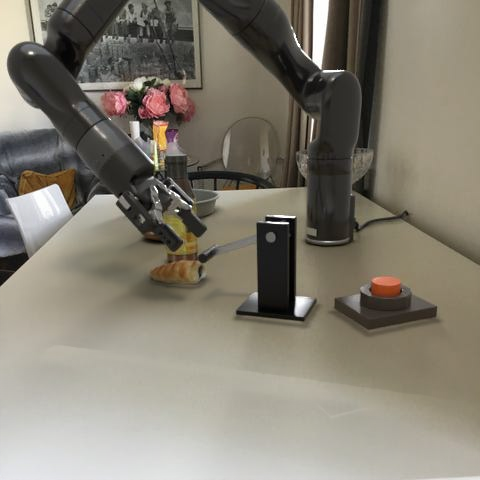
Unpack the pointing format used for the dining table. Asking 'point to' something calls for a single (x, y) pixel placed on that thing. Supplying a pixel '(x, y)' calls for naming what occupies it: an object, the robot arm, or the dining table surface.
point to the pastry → (179, 272)
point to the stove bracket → (277, 273)
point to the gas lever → (227, 247)
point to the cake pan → (204, 201)
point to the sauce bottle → (180, 177)
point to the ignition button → (385, 286)
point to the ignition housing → (384, 308)
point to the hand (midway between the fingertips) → (191, 240)
